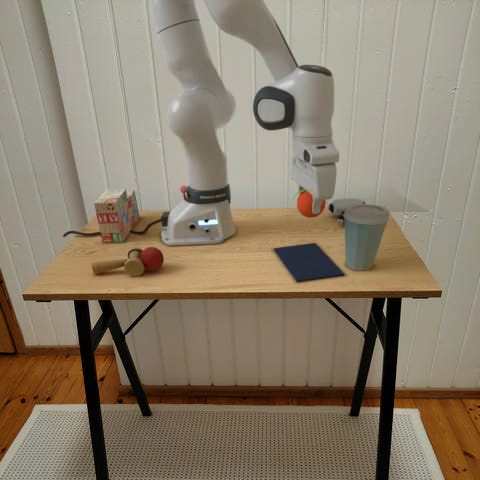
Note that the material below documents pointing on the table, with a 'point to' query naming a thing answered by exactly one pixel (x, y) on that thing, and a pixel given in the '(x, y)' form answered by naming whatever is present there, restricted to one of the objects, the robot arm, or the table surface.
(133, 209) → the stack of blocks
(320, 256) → the cloth
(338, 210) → the robot toy
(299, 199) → the clementine
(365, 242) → the disposable coffee cup
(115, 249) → the table surface
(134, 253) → the kendama
